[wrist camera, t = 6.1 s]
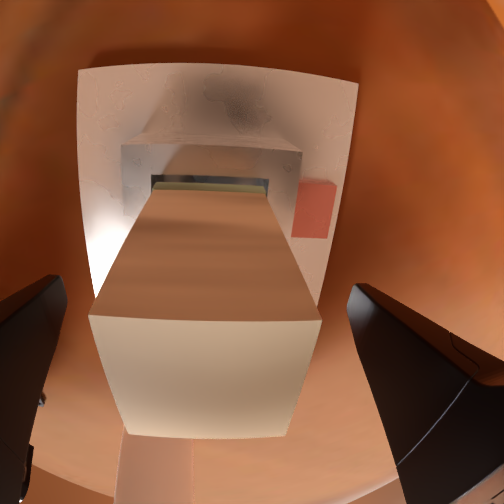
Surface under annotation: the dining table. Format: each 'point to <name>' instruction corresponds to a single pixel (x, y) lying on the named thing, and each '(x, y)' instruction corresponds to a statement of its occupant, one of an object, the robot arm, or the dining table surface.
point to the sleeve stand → (213, 148)
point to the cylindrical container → (154, 470)
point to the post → (205, 317)
